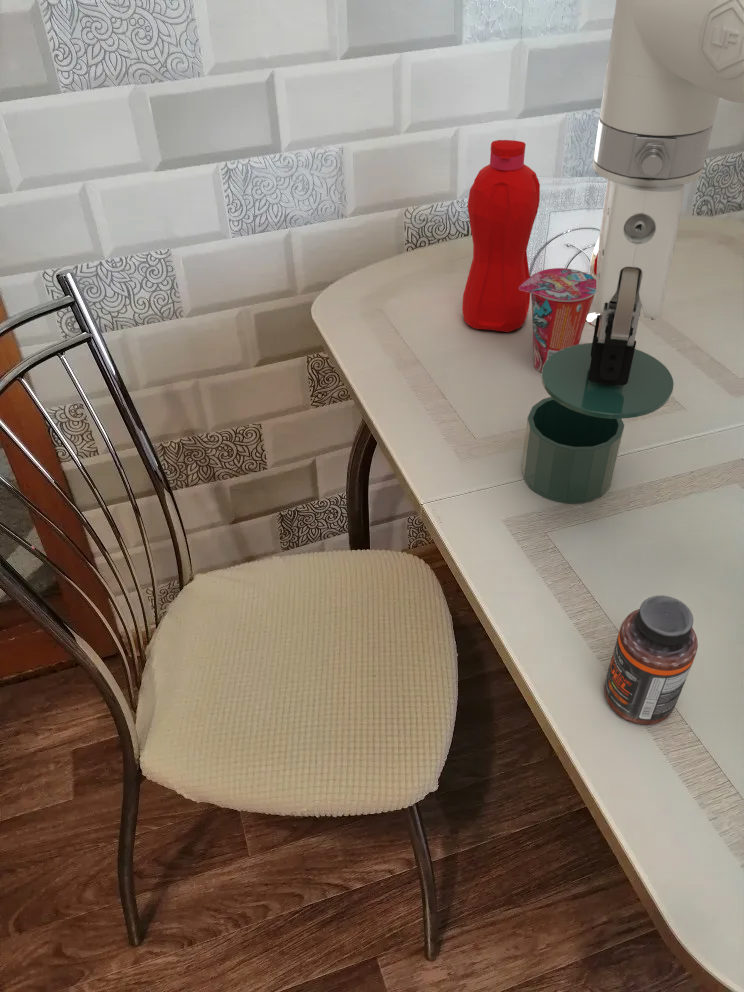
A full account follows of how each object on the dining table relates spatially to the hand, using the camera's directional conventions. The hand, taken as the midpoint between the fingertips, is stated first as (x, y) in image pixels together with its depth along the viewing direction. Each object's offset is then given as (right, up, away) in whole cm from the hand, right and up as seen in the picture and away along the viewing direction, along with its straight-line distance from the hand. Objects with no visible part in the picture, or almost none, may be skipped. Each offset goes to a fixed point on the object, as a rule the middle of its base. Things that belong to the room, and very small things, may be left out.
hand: (608, 368), depth 68 cm
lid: (0, -1, +1) cm, 1 cm away
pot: (+2, -8, +23) cm, 24 cm away
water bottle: (-2, +16, +50) cm, 52 cm away
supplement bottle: (+3, -28, +1) cm, 28 cm away
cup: (+4, +6, +39) cm, 40 cm away
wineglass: (+13, +15, +48) cm, 52 cm away
